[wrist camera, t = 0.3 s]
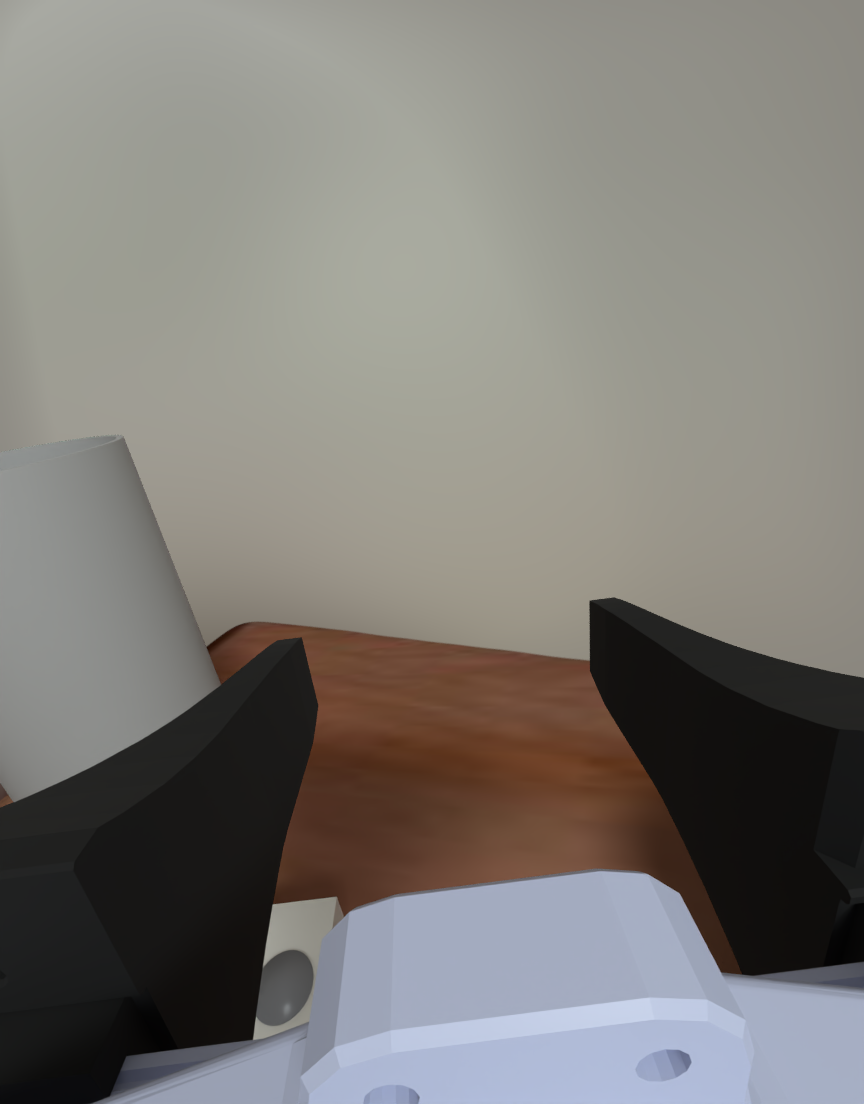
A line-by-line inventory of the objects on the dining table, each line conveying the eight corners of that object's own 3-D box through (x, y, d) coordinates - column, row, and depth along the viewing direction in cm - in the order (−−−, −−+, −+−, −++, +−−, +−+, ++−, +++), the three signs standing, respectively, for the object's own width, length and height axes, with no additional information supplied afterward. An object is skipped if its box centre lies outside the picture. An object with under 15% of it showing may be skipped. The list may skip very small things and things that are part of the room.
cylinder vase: (12, 882, 31) (-269, 512, 21) (150, 734, 42) (10, 447, 32) (180, 903, 28) (-52, 488, 18) (280, 739, 39) (171, 426, 29)
